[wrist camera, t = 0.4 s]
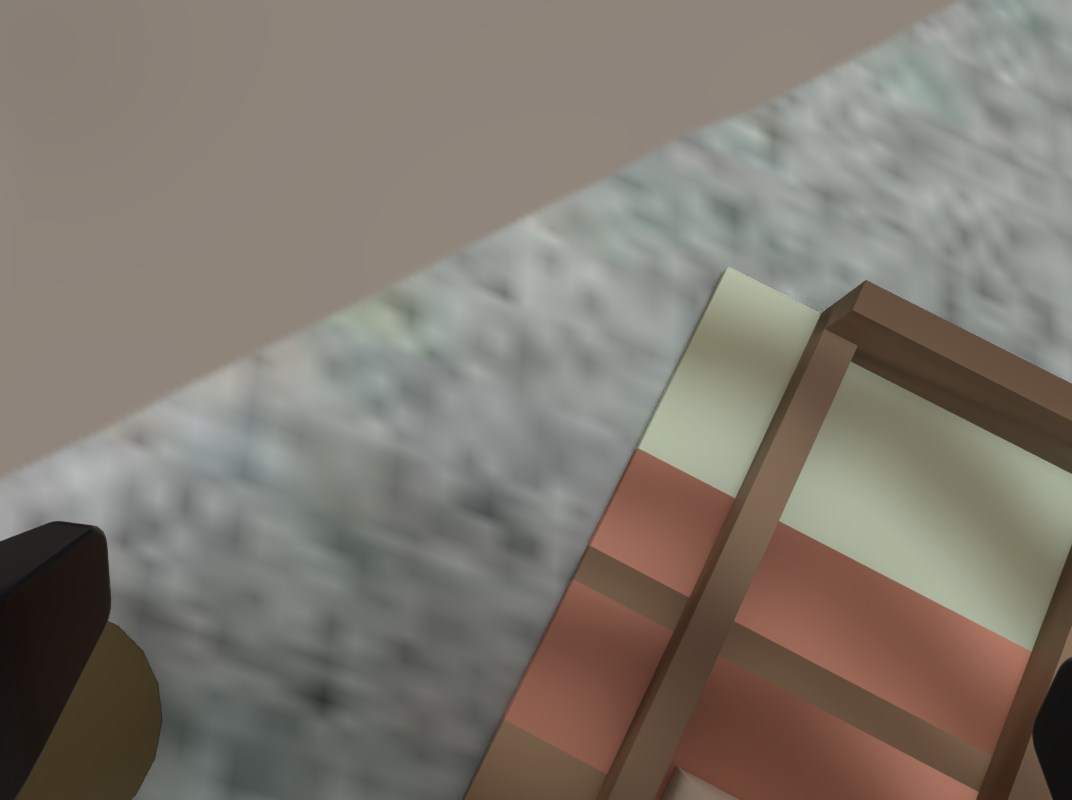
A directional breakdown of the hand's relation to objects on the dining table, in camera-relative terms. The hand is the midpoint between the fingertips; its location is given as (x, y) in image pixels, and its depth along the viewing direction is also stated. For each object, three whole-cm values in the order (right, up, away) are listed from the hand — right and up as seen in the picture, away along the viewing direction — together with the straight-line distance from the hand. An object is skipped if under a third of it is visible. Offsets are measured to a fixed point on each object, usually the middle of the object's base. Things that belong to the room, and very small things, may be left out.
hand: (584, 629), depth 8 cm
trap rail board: (+7, -7, +15) cm, 18 cm away
